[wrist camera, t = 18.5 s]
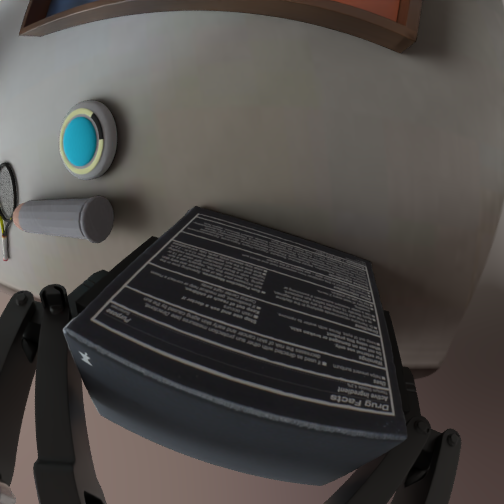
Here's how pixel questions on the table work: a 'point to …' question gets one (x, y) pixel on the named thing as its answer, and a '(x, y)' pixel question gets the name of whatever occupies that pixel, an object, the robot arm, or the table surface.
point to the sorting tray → (265, 3)
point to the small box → (245, 352)
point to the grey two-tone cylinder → (67, 217)
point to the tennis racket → (0, 216)
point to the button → (88, 139)
